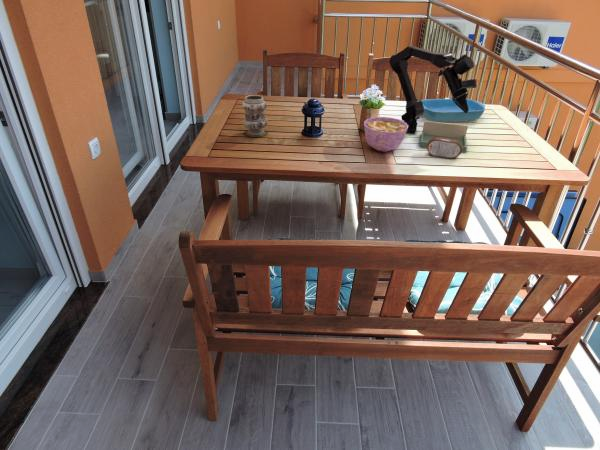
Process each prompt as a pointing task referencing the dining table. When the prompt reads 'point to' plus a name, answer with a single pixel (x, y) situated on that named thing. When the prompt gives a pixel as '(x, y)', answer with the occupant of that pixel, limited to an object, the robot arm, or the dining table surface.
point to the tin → (444, 147)
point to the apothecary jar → (254, 115)
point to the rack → (444, 132)
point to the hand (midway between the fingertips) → (467, 112)
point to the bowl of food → (384, 132)
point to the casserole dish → (451, 110)
